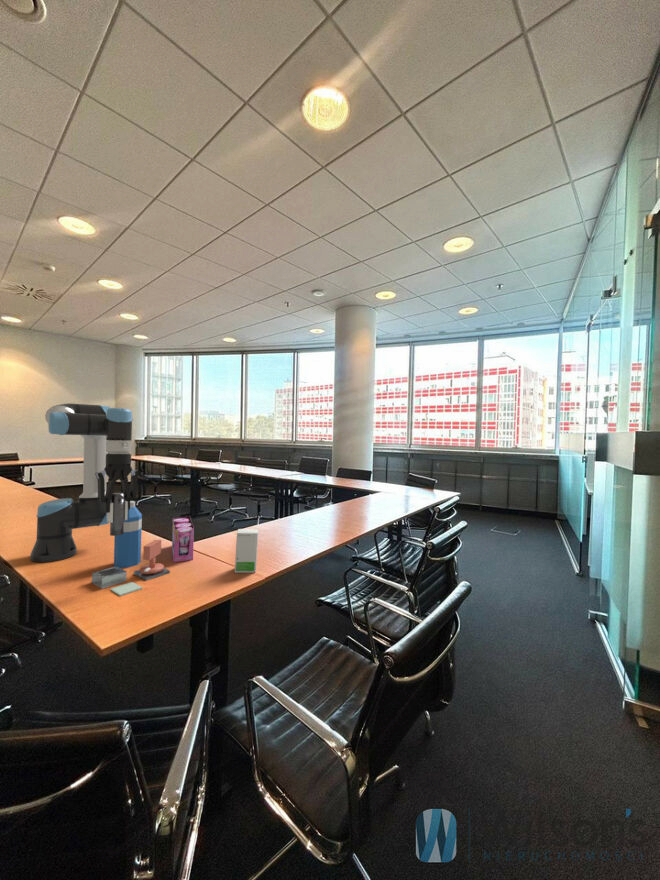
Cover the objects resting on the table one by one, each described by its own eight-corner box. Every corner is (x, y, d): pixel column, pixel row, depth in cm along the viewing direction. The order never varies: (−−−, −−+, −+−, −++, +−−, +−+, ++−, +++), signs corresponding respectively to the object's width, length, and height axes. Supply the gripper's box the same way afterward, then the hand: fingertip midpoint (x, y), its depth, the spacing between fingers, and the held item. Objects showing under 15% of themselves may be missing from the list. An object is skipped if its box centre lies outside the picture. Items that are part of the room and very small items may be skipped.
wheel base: (133, 574, 129) (133, 570, 129) (157, 567, 136) (157, 563, 136) (145, 580, 123) (146, 577, 123) (169, 572, 131) (169, 569, 131)
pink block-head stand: (147, 565, 134) (148, 539, 134) (167, 566, 134) (168, 540, 133) (134, 574, 125) (135, 546, 125) (156, 575, 125) (157, 547, 125)
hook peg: (107, 534, 118) (108, 493, 118) (120, 531, 122) (121, 492, 122) (115, 537, 115) (116, 495, 115) (128, 534, 118) (128, 494, 118)
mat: (110, 590, 115) (110, 588, 115) (132, 583, 121) (132, 581, 121) (120, 596, 111) (120, 594, 111) (142, 588, 117) (142, 587, 117)
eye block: (91, 582, 120) (92, 572, 120) (116, 575, 127) (116, 566, 127) (101, 589, 116) (101, 578, 116) (126, 581, 122) (126, 571, 122)
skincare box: (234, 573, 133) (235, 533, 132) (236, 566, 139) (237, 528, 139) (256, 572, 134) (257, 532, 134) (257, 566, 140) (258, 528, 140)
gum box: (193, 561, 144) (194, 528, 144) (173, 563, 140) (174, 530, 140) (189, 544, 165) (190, 516, 165) (171, 546, 162) (172, 517, 162)
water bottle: (128, 569, 133) (130, 504, 133) (107, 566, 135) (109, 503, 135) (145, 560, 142) (147, 500, 142) (126, 558, 144) (128, 499, 144)
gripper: (95, 453, 110) (93, 527, 110) (149, 453, 124) (147, 518, 124) (85, 453, 114) (84, 523, 114) (138, 452, 128) (137, 515, 128)
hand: (117, 520), depth 119 cm, fingers closed on hook peg, 4 cm apart
